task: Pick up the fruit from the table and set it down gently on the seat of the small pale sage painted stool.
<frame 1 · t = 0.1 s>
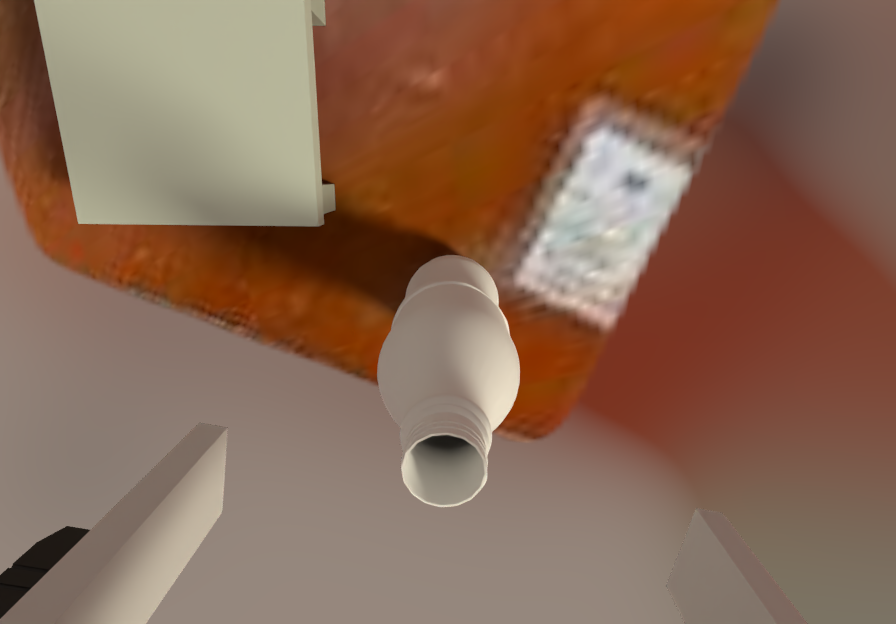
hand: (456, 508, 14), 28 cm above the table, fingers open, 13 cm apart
stool: (230, 107, 37), on the table
water bottle: (452, 292, 41), on the table
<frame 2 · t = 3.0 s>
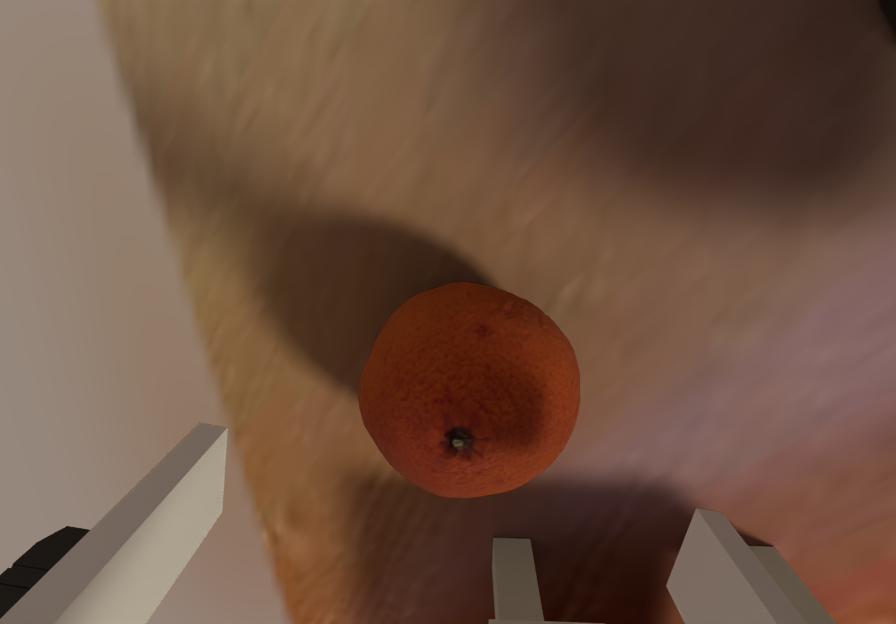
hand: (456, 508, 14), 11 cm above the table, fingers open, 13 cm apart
fruit: (468, 358, 24), on the table
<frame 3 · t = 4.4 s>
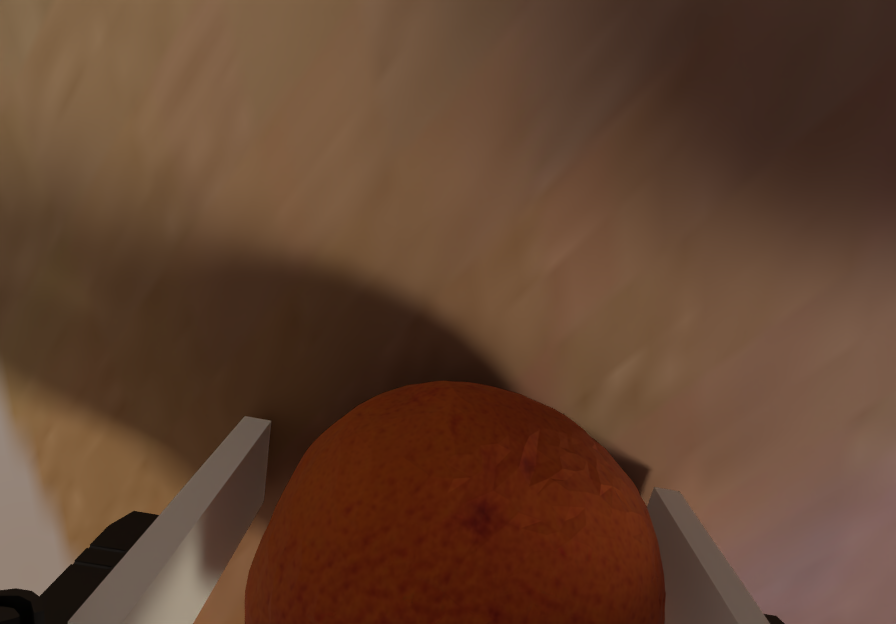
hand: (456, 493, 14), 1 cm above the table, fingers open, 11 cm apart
fruit: (456, 477, 15), on the table
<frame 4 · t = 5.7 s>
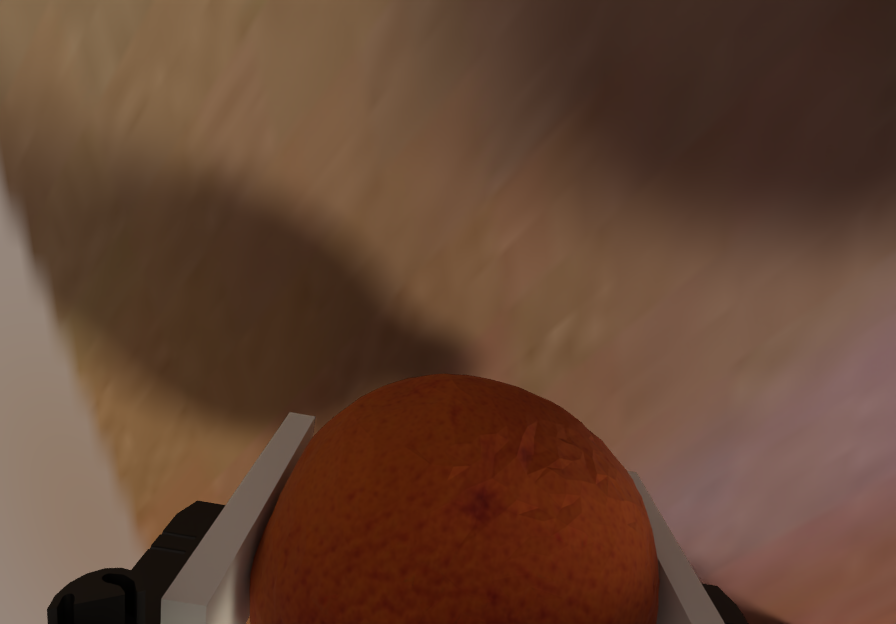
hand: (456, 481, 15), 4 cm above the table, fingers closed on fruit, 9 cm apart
fruit: (456, 470, 15), point 4 cm above the table, touching gripper
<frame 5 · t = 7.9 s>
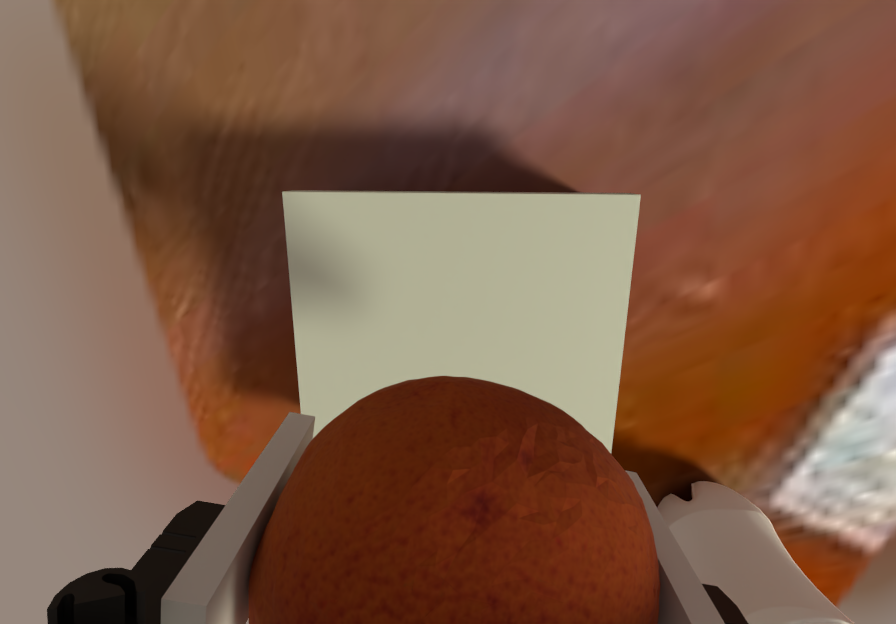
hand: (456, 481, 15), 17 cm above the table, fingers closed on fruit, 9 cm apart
stool: (458, 318, 31), on the table
fruit: (455, 471, 15), point 16 cm above the table, touching gripper
water bottle: (693, 511, 35), on the table
when the fingers open (8 cm above the table, at t = 10.2 s): fruit stays where it is, resting on stool.
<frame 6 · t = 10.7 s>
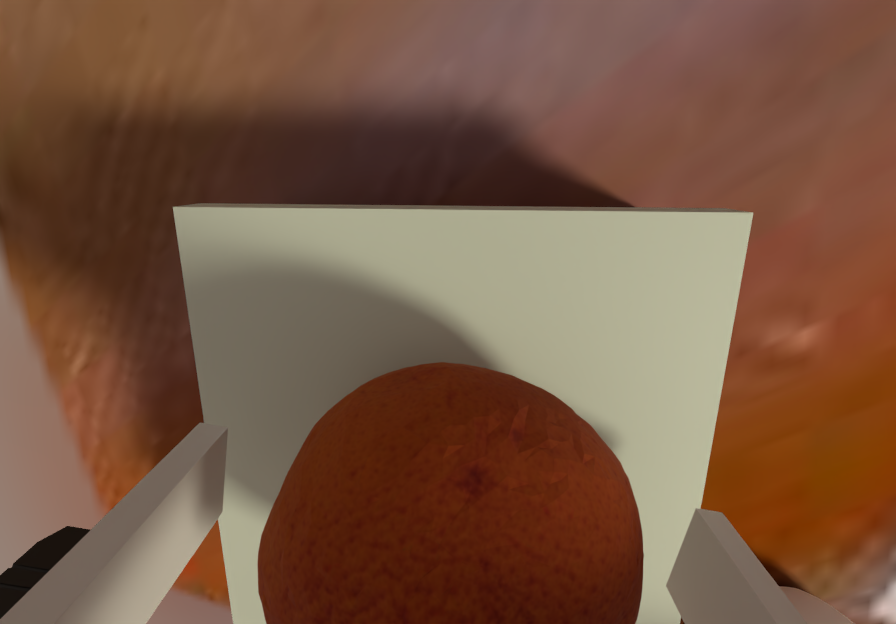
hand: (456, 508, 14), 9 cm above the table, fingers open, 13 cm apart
stool: (456, 375, 23), on the table
fruit: (453, 457, 16), point 7 cm above the table, touching stool
water bottle: (766, 622, 26), on the table
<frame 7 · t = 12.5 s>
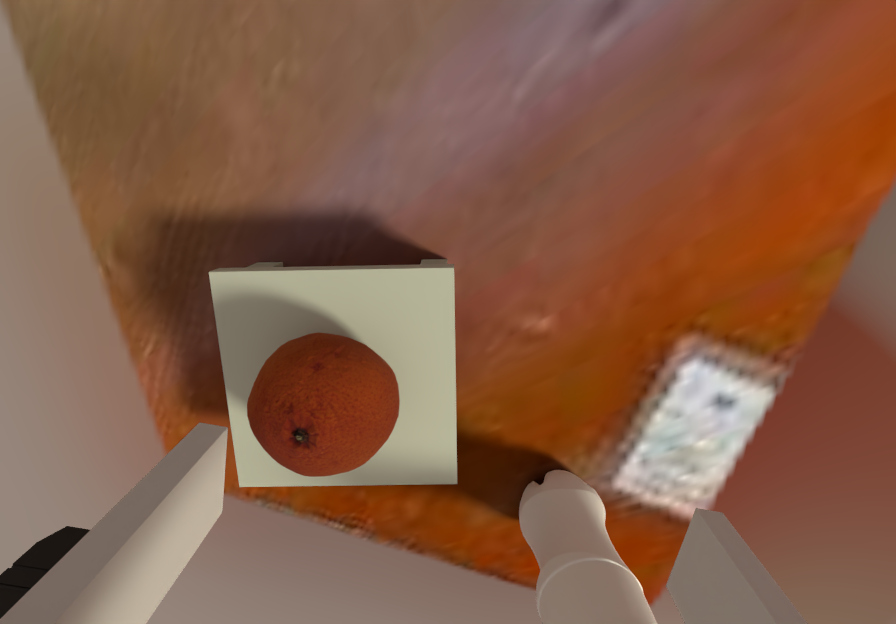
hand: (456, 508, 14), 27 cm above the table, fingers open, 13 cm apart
stool: (358, 350, 41), on the table
fruit: (339, 381, 34), point 7 cm above the table, touching stool
water bottle: (554, 494, 45), on the table
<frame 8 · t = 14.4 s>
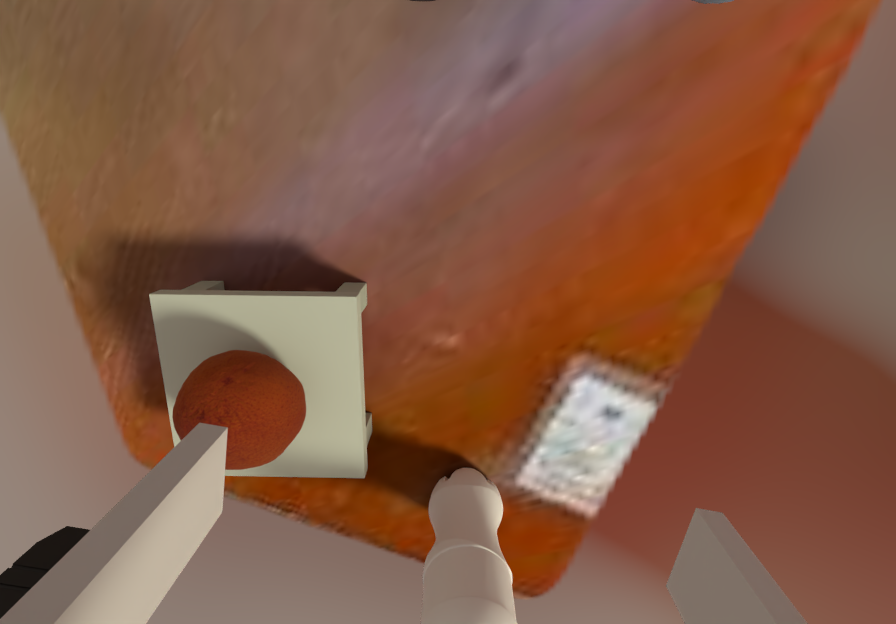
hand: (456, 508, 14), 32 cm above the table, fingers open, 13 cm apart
stool: (290, 359, 47), on the table
fruit: (262, 389, 40), point 7 cm above the table, touching stool
water bottle: (465, 489, 51), on the table
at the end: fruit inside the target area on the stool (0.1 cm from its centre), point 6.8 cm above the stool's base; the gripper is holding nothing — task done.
